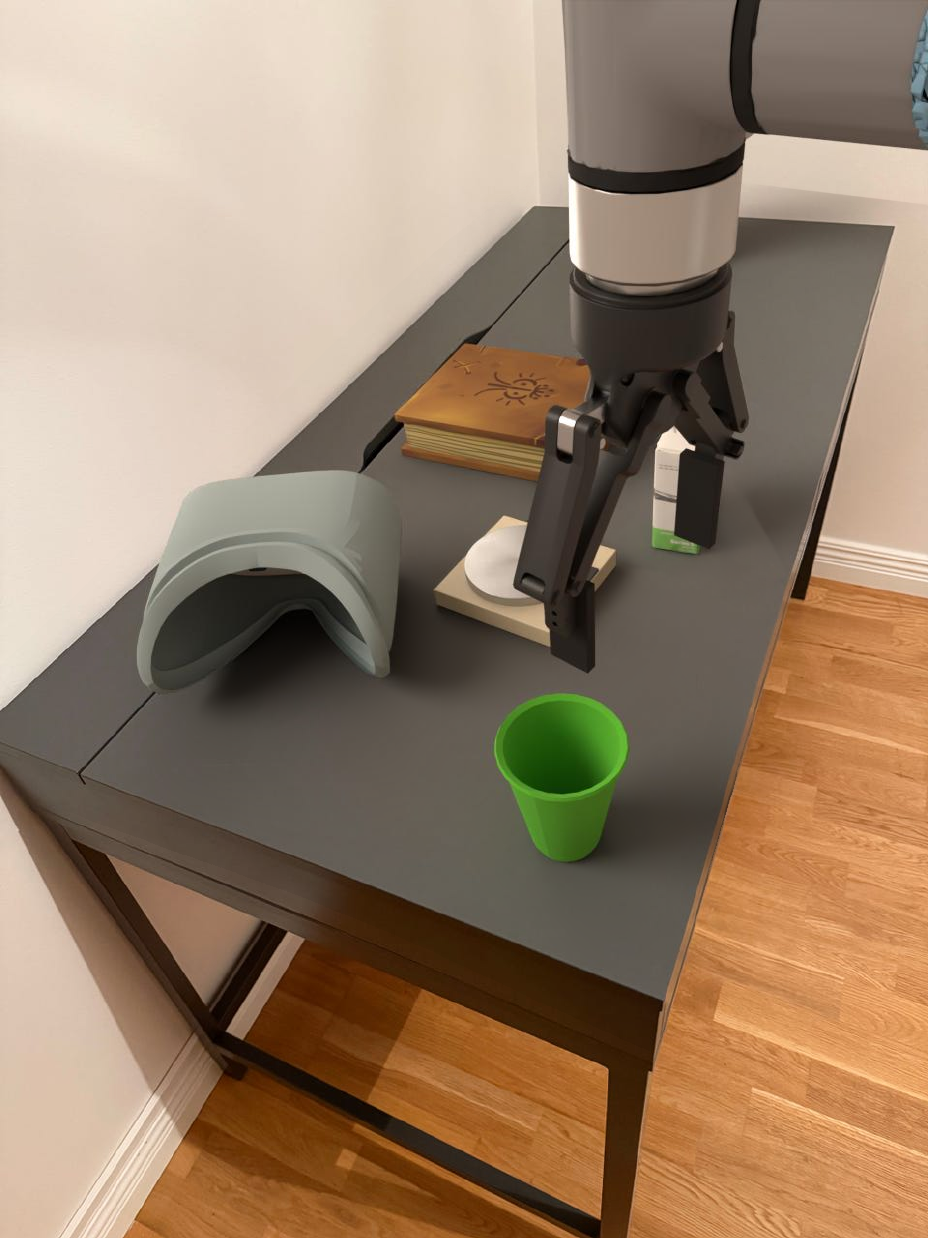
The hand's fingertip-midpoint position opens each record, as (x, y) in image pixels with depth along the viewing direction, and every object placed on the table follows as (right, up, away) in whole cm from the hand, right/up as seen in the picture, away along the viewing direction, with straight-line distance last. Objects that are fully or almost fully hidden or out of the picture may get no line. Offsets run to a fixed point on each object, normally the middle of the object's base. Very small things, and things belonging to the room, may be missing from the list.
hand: (637, 596), depth 56 cm
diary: (-4, +21, +53) cm, 57 cm away
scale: (-5, +2, +32) cm, 32 cm away
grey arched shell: (-27, -4, +30) cm, 41 cm away
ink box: (+12, +8, +36) cm, 39 cm away
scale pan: (-5, +3, +31) cm, 31 cm away
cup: (-3, -18, +11) cm, 21 cm away
